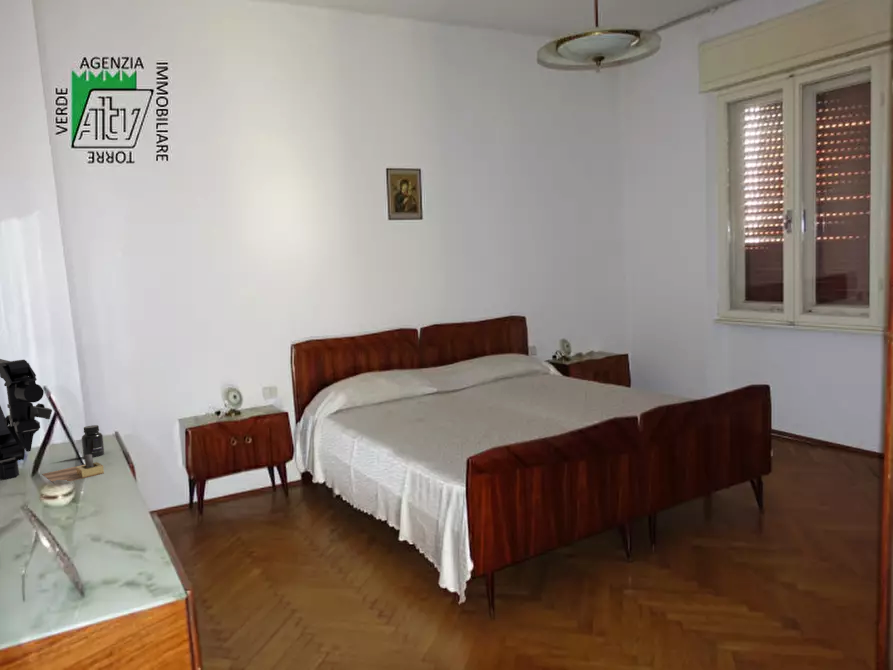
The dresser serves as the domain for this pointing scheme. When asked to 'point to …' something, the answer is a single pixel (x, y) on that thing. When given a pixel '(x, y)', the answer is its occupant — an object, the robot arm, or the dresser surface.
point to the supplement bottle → (92, 441)
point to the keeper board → (70, 472)
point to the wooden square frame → (89, 470)
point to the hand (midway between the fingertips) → (25, 449)
